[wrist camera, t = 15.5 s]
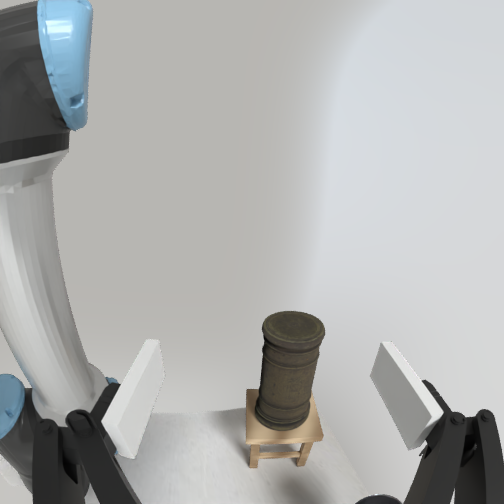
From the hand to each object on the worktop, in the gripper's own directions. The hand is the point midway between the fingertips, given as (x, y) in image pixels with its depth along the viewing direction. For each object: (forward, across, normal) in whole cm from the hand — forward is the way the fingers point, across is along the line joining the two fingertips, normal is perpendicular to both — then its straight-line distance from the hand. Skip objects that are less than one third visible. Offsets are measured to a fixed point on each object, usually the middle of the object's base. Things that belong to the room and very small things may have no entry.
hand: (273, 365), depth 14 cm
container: (+19, +5, -26) cm, 33 cm away
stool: (+19, +5, -38) cm, 43 cm away
